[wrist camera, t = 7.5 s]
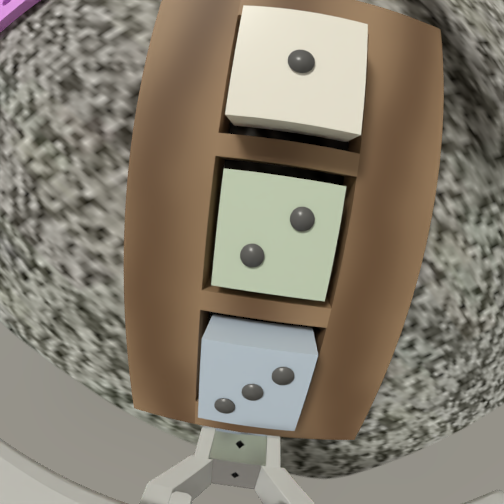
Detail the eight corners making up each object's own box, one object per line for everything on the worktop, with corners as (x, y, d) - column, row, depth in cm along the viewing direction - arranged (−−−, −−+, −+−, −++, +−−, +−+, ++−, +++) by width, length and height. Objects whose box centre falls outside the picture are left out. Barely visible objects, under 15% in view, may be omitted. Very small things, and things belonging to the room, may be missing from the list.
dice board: (421, 44, 12) (440, 29, 10) (348, 414, 18) (354, 439, 16) (179, 9, 13) (165, -12, 10) (147, 385, 19) (134, 408, 16)
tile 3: (312, 327, 15) (318, 356, 12) (293, 400, 16) (294, 432, 13) (212, 313, 15) (201, 339, 12) (207, 388, 16) (197, 418, 14)
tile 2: (334, 184, 14) (346, 186, 12) (317, 282, 15) (325, 302, 13) (232, 169, 14) (223, 168, 12) (220, 268, 16) (210, 286, 13)
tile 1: (354, 46, 11) (368, 23, 9) (345, 142, 12) (361, 134, 10) (248, 30, 11) (243, 4, 9) (234, 125, 13) (224, 114, 10)
